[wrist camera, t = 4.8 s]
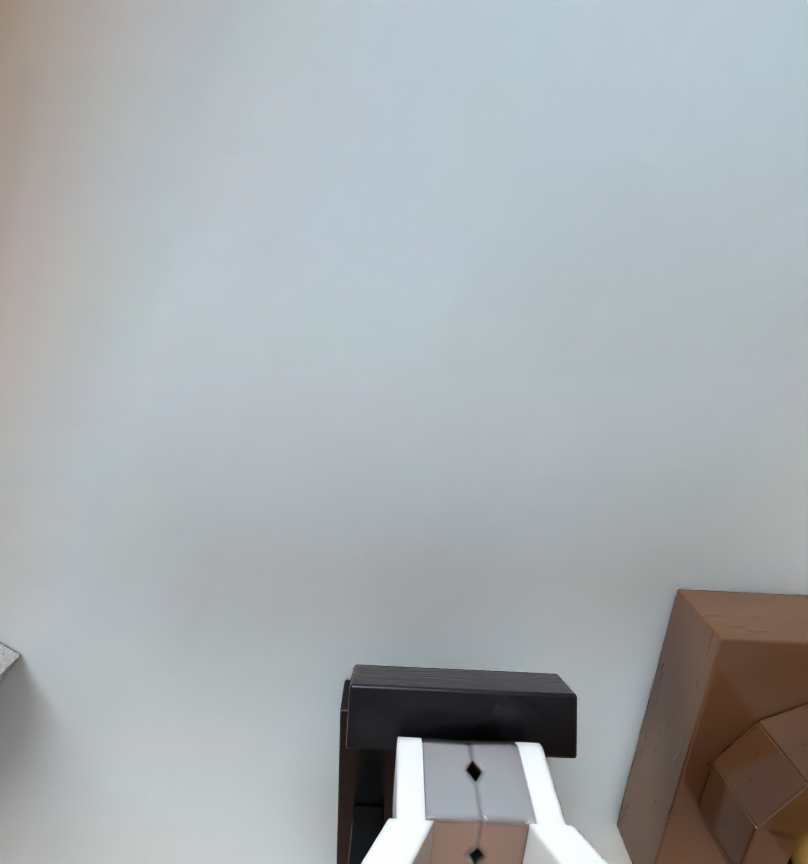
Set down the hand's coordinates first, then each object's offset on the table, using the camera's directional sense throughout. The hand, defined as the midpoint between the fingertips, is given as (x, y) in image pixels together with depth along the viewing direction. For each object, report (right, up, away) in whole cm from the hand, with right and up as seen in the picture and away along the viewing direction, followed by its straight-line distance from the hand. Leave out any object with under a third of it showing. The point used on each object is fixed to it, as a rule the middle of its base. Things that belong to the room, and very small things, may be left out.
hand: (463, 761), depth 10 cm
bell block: (+11, -3, +6) cm, 13 cm away
